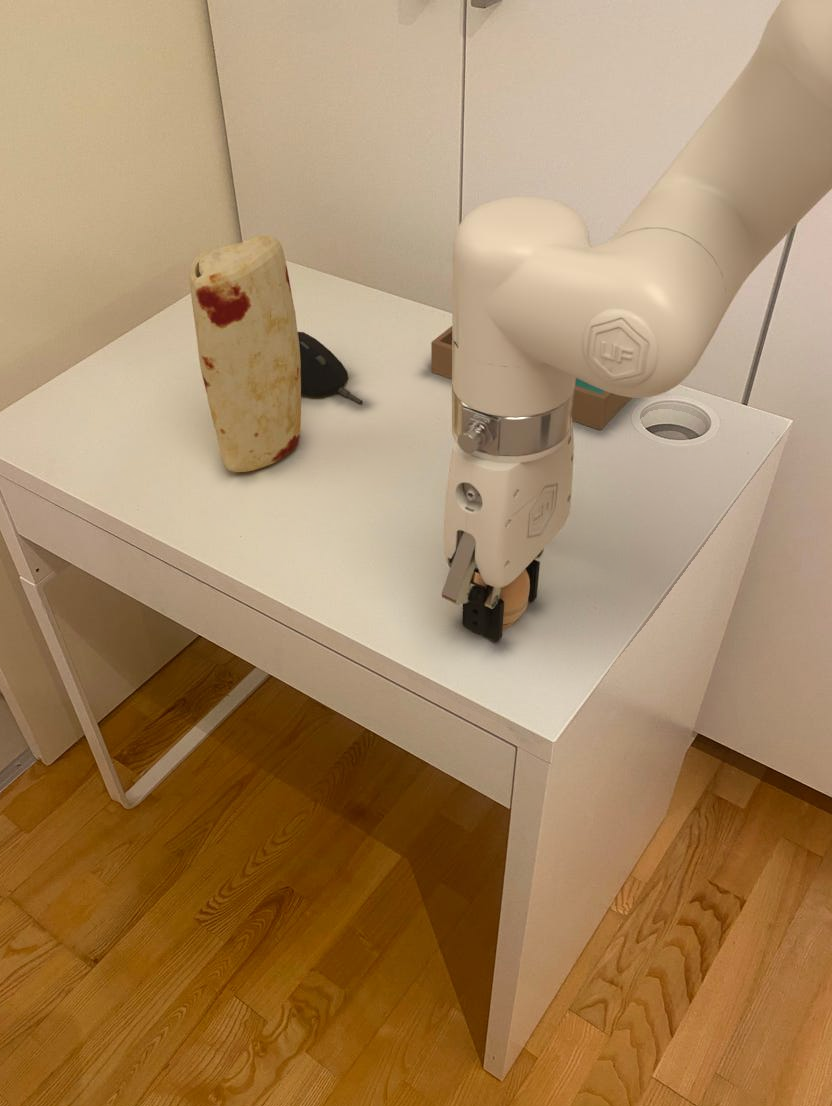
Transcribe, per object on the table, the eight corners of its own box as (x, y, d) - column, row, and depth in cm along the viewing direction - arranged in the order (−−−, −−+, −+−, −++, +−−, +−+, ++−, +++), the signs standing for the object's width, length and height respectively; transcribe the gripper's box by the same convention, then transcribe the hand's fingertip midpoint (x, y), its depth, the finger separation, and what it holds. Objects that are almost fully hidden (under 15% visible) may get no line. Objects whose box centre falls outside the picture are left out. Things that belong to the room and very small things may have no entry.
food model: (250, 494, 88) (213, 282, 74) (202, 465, 92) (157, 257, 77) (327, 443, 93) (306, 233, 78) (278, 417, 96) (249, 212, 82)
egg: (531, 601, 77) (536, 547, 73) (521, 640, 74) (526, 586, 70) (477, 593, 78) (479, 539, 74) (466, 631, 75) (468, 577, 71)
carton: (467, 342, 103) (468, 312, 101) (633, 396, 95) (638, 364, 92) (431, 372, 100) (431, 341, 98) (600, 430, 91) (604, 399, 89)
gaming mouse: (339, 419, 95) (336, 382, 92) (237, 368, 103) (231, 333, 100) (383, 390, 98) (381, 354, 95) (281, 342, 106) (276, 308, 103)
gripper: (490, 500, 56) (481, 704, 70) (628, 364, 65) (596, 569, 78) (384, 457, 60) (395, 660, 73) (528, 334, 68) (514, 535, 82)
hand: (499, 611), depth 75 cm, fingers closed on egg, 4 cm apart
